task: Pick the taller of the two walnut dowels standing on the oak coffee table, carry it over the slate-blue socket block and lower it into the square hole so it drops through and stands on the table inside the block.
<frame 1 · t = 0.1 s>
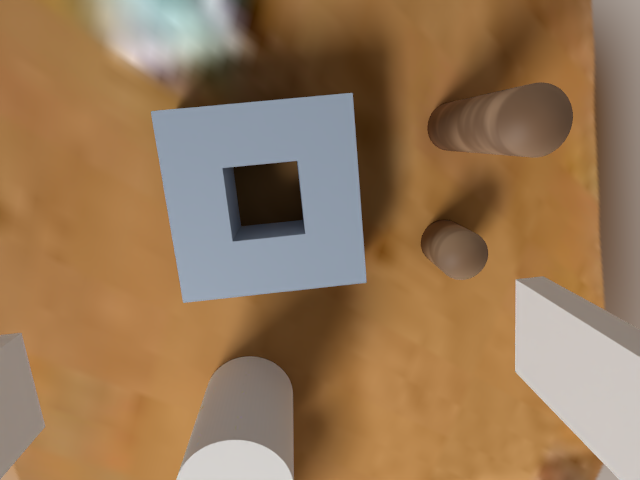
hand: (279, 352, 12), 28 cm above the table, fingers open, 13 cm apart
long dowel: (450, 126, 39), on the table
socket block: (268, 192, 39), on the table
short dowel: (442, 241, 41), on the table
cup: (250, 394, 43), on the table
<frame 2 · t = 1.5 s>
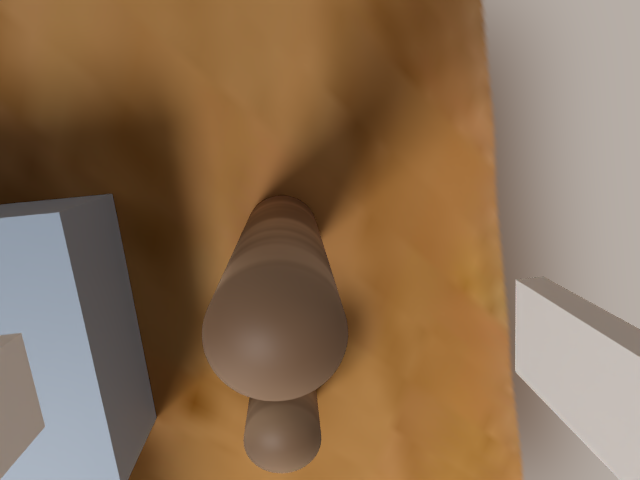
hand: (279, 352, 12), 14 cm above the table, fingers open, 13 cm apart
long dowel: (282, 230, 26), on the table
socket block: (13, 325, 26), on the table
short dowel: (283, 387, 28), on the table
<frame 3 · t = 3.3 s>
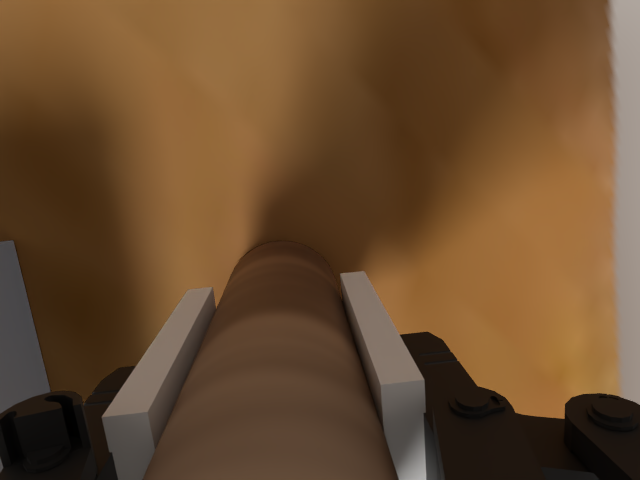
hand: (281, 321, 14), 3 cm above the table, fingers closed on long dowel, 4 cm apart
long dowel: (282, 294, 17), on the table, touching gripper
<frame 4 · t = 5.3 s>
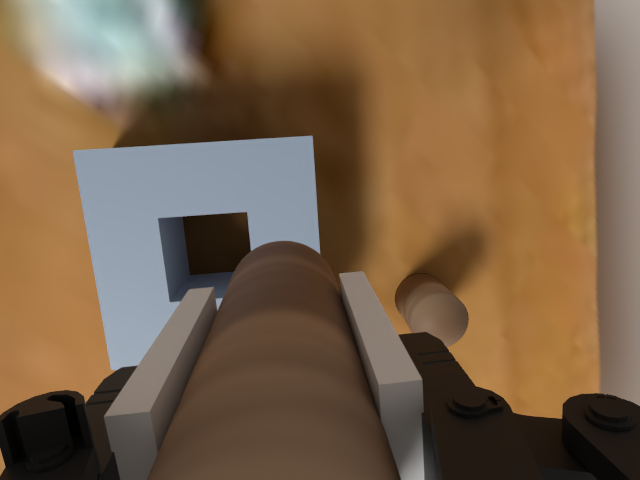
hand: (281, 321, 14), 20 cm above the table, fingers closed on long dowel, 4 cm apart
long dowel: (283, 293, 17), point 18 cm above the table, touching gripper
socket block: (221, 237, 34), on the table
short dowel: (419, 297, 36), on the table
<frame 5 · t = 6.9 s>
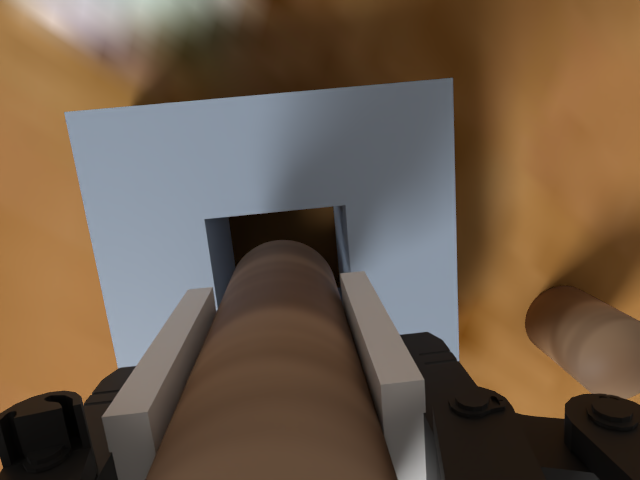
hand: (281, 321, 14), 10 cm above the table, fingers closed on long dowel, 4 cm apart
long dowel: (283, 291, 17), point 7 cm above the table, touching gripper
socket block: (284, 244, 24), on the table
short dowel: (559, 319, 26), on the table
when the fingers open (7 cm above the table, at t = 7.7 s): long dowel drops 3 cm, resting in socket block.
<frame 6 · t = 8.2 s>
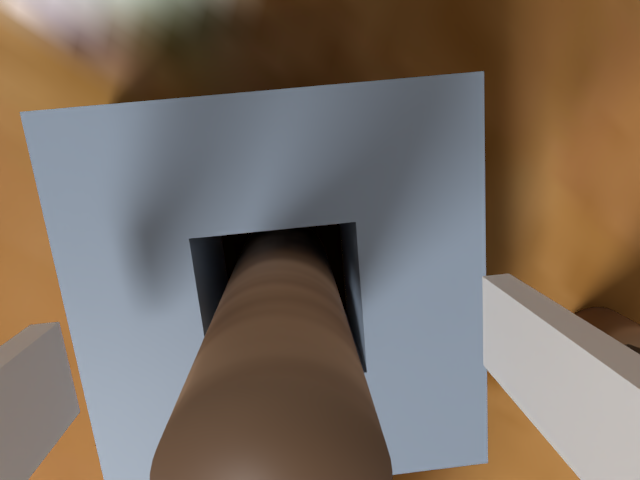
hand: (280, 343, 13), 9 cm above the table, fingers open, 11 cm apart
long dowel: (284, 262, 21), resting in socket block
socket block: (284, 261, 21), on the table
short dowel: (591, 344, 23), on the table
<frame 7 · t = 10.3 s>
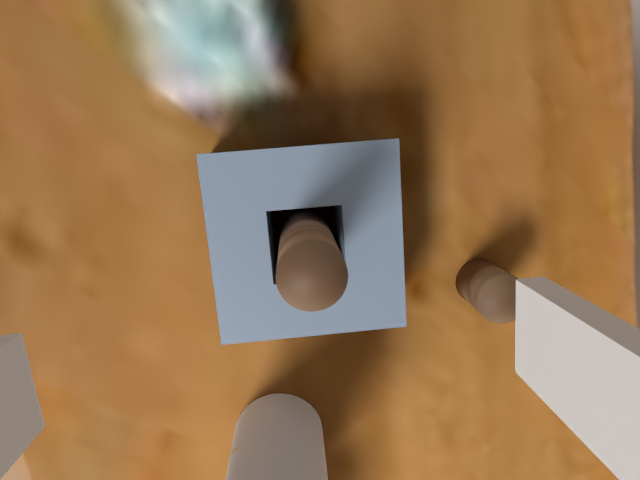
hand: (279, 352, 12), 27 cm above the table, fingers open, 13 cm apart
long dowel: (304, 230, 39), resting in socket block
socket block: (304, 229, 39), on the table
short dowel: (477, 280, 41), on the table
cup: (279, 431, 43), on the table
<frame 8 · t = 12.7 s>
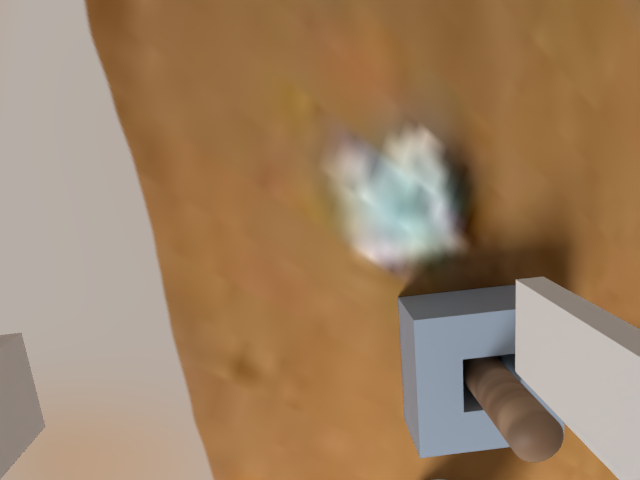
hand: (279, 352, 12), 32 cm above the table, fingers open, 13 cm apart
long dowel: (467, 353, 48), resting in socket block
socket block: (467, 353, 48), on the table
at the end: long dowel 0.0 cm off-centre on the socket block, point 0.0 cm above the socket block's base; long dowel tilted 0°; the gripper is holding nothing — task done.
